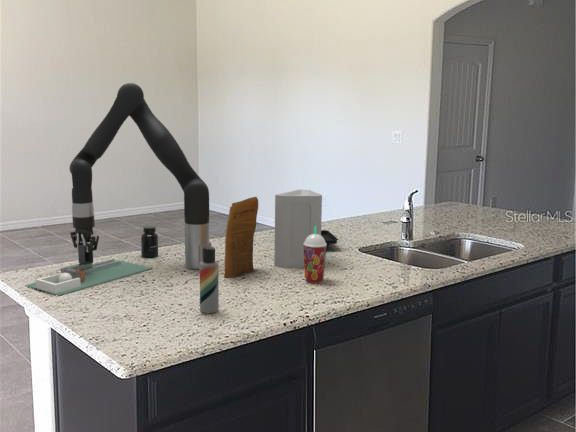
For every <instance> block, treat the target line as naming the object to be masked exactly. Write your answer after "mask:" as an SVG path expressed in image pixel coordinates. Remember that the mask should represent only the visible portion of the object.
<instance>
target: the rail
mask: <svg viewBox="0 0 576 432" xmlns="http://www.w3.org/2000/svg"><path fill="white" fill-rule="evenodd" d="M121 261H122V260H115V258H112V259H108V260H104V261H103V260H102V261H100V262H94V263H93V267H92V268H89V269H85V270H84V271H85V274H88V273H92V272H96V271H99V270H103V269H107V268H111V267H114V266H118V265H121ZM59 273H61V271H60V272H57V273H53V274H50V275H49V276H51V275H55V274H59ZM71 276H72V278H73V277H75V276H74V275H71Z"/></svg>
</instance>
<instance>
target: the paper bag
mask: <svg viewBox="0 0 576 432" xmlns="http://www.w3.org/2000/svg"><path fill="white" fill-rule="evenodd" d="M322 210H323V195H322V194H320V193H319V192H318V193H317V192H315V191H313V190H311V189H296V190H290V191H286V192H281V193H277V194H274V265H273V266H274V267H277V268H281V269H301V268H302V269H303V268H304V247H303V243H304V241H305V239H306V238H307V237H308V236H309V235H311V234H314V226H316V234H319V235H321V230H322V214H323V213H322V212H323V211H322Z"/></svg>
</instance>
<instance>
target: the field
mask: <svg viewBox="0 0 576 432" xmlns="http://www.w3.org/2000/svg"><path fill="white" fill-rule="evenodd" d="M120 261H121V265H118V266H114V267H111V268H107V269H103V270H99V271H96V272H92V273H88V274H85V281H82V282H80V284H81V287H78V288H74V289H71V290H67V291H64V292H60V293H57V294H54V293H51V292H48V291H45V292H44V293H46V292H47V293H46V294H49V293H51V294H50V295H53V294H54V296H56V295H57V297H60V295H61V296H65V295H68V294H71V293H74V292H78V291H82V290H85V289H88V288H91V287H95V286H99V285H102V284H105V283H109V282H112V281H116V280H119V279H122V278H126V277H129V276H130V277H131V276H133V275H137V274H140V273H144V272H146V271H150V270H153V267H150V266H146V265H143V264H137V263H133V262H129V261H124V260H120ZM72 279H75V277H73V278H72ZM27 286H28V288H30V287H31V289H33V288H35V289H34V290H36V289H38V288H36V281H35V282H33V283H28V284H25V287H27ZM40 290H41V289H38V290H37V291H40ZM43 291H44V290H41V292H43ZM64 294H65V295H64Z"/></svg>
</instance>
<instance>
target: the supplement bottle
mask: <svg viewBox="0 0 576 432" xmlns="http://www.w3.org/2000/svg"><path fill="white" fill-rule="evenodd" d="M142 228H143V233H142V234H141V235H140V253H141V254H140V255H141V257H142V258H144V259H145V258H146V259H147V258H148V259H153V258H157V257H158V256H159V234H157V233H156V232H157V229H156V228H157V227H155V226H154V225H153V226H152V225H151V226H150V225H149V226H148V225H147V226H144V227H142Z"/></svg>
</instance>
